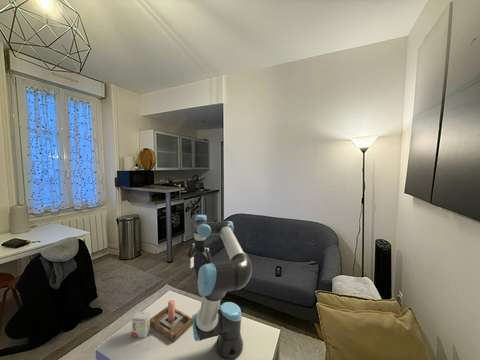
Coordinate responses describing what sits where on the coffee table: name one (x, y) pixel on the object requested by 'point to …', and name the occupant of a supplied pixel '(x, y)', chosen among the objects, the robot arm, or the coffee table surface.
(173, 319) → the peg
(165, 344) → the coffee table surface
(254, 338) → the coffee table surface
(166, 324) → the socket
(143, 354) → the coffee table surface
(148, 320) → the ink box
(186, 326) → the tray
